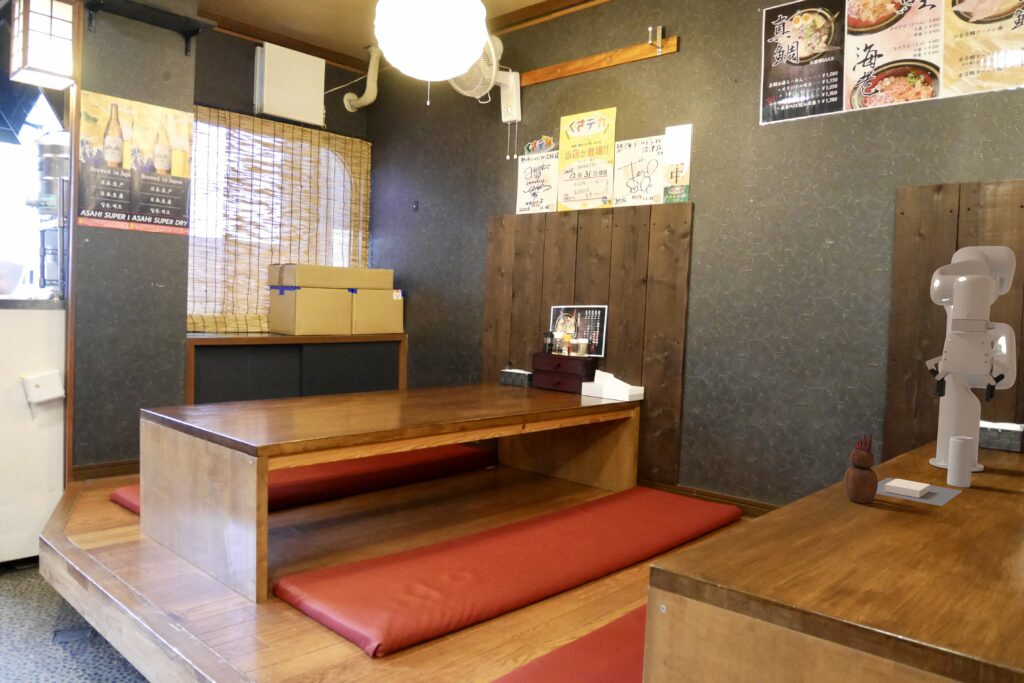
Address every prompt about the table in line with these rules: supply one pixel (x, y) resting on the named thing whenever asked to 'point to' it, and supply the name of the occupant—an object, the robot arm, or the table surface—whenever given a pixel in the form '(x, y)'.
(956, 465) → the beverage can
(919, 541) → the table surface
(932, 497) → the mat
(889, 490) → the tile
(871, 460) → the wooden figurine
